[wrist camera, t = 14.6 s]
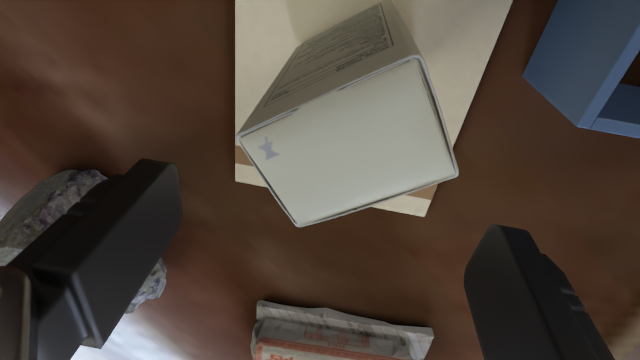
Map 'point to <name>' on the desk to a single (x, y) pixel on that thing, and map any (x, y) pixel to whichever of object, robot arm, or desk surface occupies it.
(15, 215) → the mineral rock
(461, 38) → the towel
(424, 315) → the desk surface
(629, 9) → the storage box
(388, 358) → the packaged product
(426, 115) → the cosmetic box
